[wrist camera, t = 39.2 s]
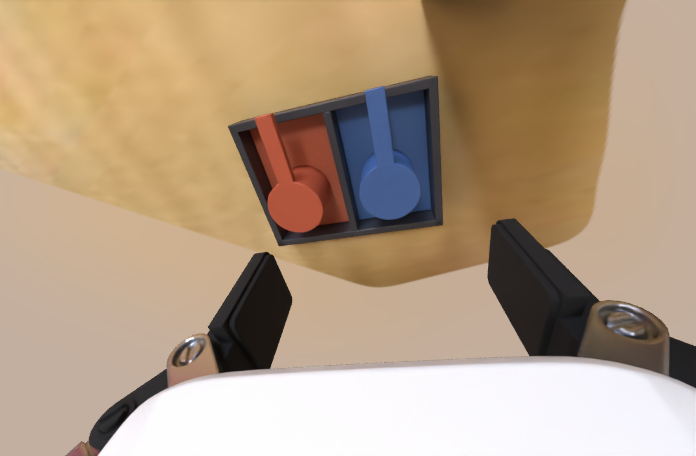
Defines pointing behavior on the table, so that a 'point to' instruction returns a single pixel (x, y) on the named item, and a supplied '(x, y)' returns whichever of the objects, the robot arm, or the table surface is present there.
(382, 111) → the scoop blue
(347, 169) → the tray
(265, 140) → the scoop terracotta
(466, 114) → the table surface
